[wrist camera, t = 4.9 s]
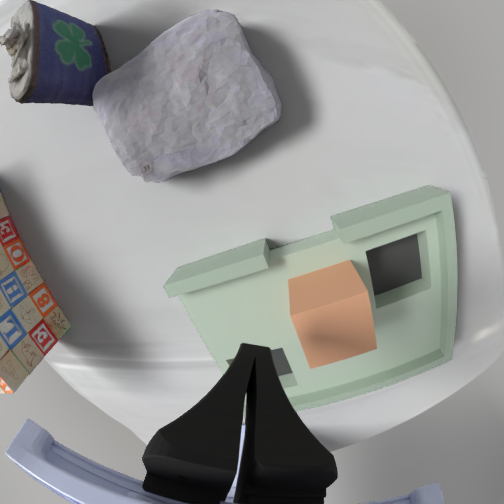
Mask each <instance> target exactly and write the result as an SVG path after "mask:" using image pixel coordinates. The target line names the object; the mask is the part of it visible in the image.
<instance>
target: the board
mask: <svg viewBox="0 0 504 504" xmlns="http://www.w3.org/2000/svg"><path fill="white" fill-rule="evenodd" d="M331 220H332V223H333V226H334V230H331V231H328V232H325V233H322V234H319V235H316V236H313V237H309V238H306V239H303V240H300V241H297V242H294V243H291V244H288V245H285V246H282V247H279V248H276V249H273V250H270V249H269V246H268V244H267V241H266V238H264V239H261V240H258V241H255V242H252V243H249V244H246V245H243V246H240V247H237V248H234V249H231V250H228V251H225V252H222V253H220V254H217V255H214V256H211V257H208V258H205V259H202V260H199V261H196V262H193V263H190V264H187V265H184V266H181V267H178V268H177V269H176V270H175V271H174V273H173V274H172V275H171V277H170V278H169V279H168V280H167V282H166V283H165V284H164V286H163V287H164V289H165V291H166V293H167V295H168V296H169V298H171V297H174V296H178V297H179V299H180V301H181V303H182V305H183V307H184V308H185V310H186V312H187V314H188V316H189V317H190V319H191V321H192V323H193V325H194V326H195V328H196V330H197V332H198V333H199V335H200V337H201V339H202V340H203V342H204V344H205V345H206V347H207V349H208V350H209V352H210V354H211V355H212V357H213V359H214V360H215V362H216V364H217V365H218V367H219V368H220V370H221V372H222V373H223V375H224V374H225V372H226V371H227V369H228V368H229V366H230V365H231V363H232V362H233V360H234V358H235V356H236V354H237V352H238V350H239V347H240V344H242V343H248V344H254V345H259V346H266V347H269V348H270V349H271V353H272V358H273V362H274V365H275V368H276V371H277V374H278V377H279V379H280V382H281V384H282V387H283V389H284V391H285V393H286V395H287V397H288V399H289V401H290V403H291V405H292V406H293V408H294V410H295V411H301V410H306V409H310V408H315V407H319V406H323V405H327V404H331V403H335V402H339V401H342V400H346V399H350V398H353V397H356V396H360V395H363V394H366V393H369V392H372V391H375V390H378V389H381V388H384V387H387V386H390V385H393V384H395V383H398V382H401V381H403V380H406V379H408V378H411V377H413V376H416V375H418V374H421V373H423V372H425V371H428V370H430V369H432V368H434V367H437V366H439V365H441V364H443V363H445V362H447V361H449V360H451V359H452V355H453V347H454V339H455V328H456V315H457V287H458V275H457V247H456V233H455V223H454V214H453V206H452V199H451V193H450V192H447V191H445V190H442V189H439V188H436V187H433V186H430V185H428V186H425V187H422V188H419V189H415V190H412V191H409V192H406V193H403V194H400V195H396V196H393V197H390V198H387V199H384V200H381V201H378V202H375V203H371V204H368V205H365V206H362V207H359V208H356V209H353V210H350V211H347V212H344V213H340V214H337V215H334V216H331ZM347 260H350V261H351V263H352V264H353V266H354V268H355V269H356V271H357V273H358V275H359V276H360V278H361V280H362V282H363V283H364V285H365V287H366V289H367V290H368V294H369V300H370V305H371V311H372V316H373V323H374V329H375V335H376V342H377V349H375V350H372V351H369V352H366V353H363V354H360V355H357V356H354V357H351V358H348V359H345V360H341V361H338V362H334V363H331V364H327V365H324V366H320V367H316V368H313V369H310V367H309V365H308V362H307V359H306V357H305V354H304V351H303V348H302V346H301V343H300V340H299V338H298V335H297V332H296V330H295V327H294V324H293V322H292V319H291V317H290V304H289V287H288V279H291V278H294V277H297V276H300V275H304V274H307V273H310V272H313V271H316V270H319V269H322V268H325V267H329V266H332V265H335V264H338V263H341V262H344V261H347ZM246 394H247V392H246ZM243 416H244V418H245V417H246V396H245V403H244V412H243Z"/></svg>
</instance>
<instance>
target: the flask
mask: <svg viewBox="0 0 504 504" xmlns="http://www.w3.org/2000/svg"><path fill="white" fill-rule="evenodd" d="M0 44H1V46H2V45H5V46H6V49H7V51H8V53H9V55H10V56H11V57H12V65H11V66H12V72H11V77H10V78H9V79H8V82H9V83H10V85H9V87H10V91H11V96H12V98H14V99H15V101H16V102H20V103H21V104H22V103H32V102H34V103H51V104H52V103H63V104H71V105H77V104H78V105H87V106H94V105H93V96H92V95H93V90H94V87H95V85H96V83H97V82H98V81H99V80H100V79H101V78H102V77H104V76H105V75H107V74H109V73H110V72H111V69H110V64H109V60H108V55H107V53H106V51H105V47H104V44H103V41H102V37H101V35H100V33H99V31H98V30H97V29H96V27H94V26H93V25H91V24H89V23H86V22H84V21H82V20H80V19H77V18H75V17H72V16H70V15H68V14H66V13H63V12H60V11H58V10H56V9H53V8H50V7H48V6H46V5H43V4H40V3H37V2H35V1H32V0H28V1H26V2H25V3H23V4H22V5H21V6H20V7H19V9H18V10H17V11H16V13H15V15H14V16H13V17H12V20H11V30H10V29H8V30H7V31H6V33H5V34H4V35H3V36H0Z"/></svg>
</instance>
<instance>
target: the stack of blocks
mask: <svg viewBox="0 0 504 504" xmlns="http://www.w3.org/2000/svg"><path fill="white" fill-rule="evenodd" d="M71 327H72V326H71V324H70V323H69V321H68V320H67V318H66V317H65V316H64V314H63V313H62V311H61V310H60V308H59V306H58V304H57V303H56V301H55V300H54V298H53V296H52V295H51V293H50V291H49V290H48V288H47V286H46V285H45V283H44V282H43V280H42V278H41V276H40V274H39V272H38V271H37V269H36V267H35V265H34V263H33V262H32V260H31V259H30V257H29V255H28V253H27V251H26V249H25V247H24V245H23V243H22V241H21V239H20V238H19V235H18V233H17V231H16V229H15V226H14V224H13V222H12V220H11V217H10V216H9V212H8V209H7V207H6V204H5V202H4V199H3V196H2V194H1V191H0V394H4V393H5V394H6V393H14V392H15V391H16V390H17V389H18V387H19V386H20V385H21V384H22V382H23V381H24V380H25V379H26V377H27V376H28V375H30V374H31V372H32V371H33V370H34V368H36V366H37V365H38V364H39V363H40V362H41V360H42V359H43V358H44V356H45V355H46V354H47V353H48V352H49V351H50V350H51V348H52V347H53V346H54V345H55V344H56V343H57V342H58V340H59V339H61V337H62V336H63V335H64V334H65V333H66V332H67V331H68V330H69V329H70V328H71Z"/></svg>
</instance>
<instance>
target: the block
mask: <svg viewBox="0 0 504 504" xmlns="http://www.w3.org/2000/svg"><path fill="white" fill-rule="evenodd" d="M288 287H289V304H290V317H291V319H292V322H293V324H294V327H295V330H296V332H297V335H298V338H299V340H300V343H301V346H302V348H303V351H304V354H305V357H306V359H307V362H308V365H309V367H310V369H313V368H316V367H320V366H324V365H327V364H331V363H334V362H338V361H341V360H345V359H348V358H351V357H354V356H357V355H360V354H363V353H366V352H369V351H372V350H375V349H377V342H376V335H375V329H374V323H373V316H372V311H371V305H370V300H369V294H368V290H367V289H366V287H365V285H364V283H363V282H362V280H361V278H360V276H359V275H358V273H357V271H356V269H355V268H354V266H353V264H352V263H351V261H350V260H347V261H344V262H341V263H338V264H335V265H332V266H329V267H325V268H322V269H319V270H316V271H313V272H310V273H307V274H304V275H300V276H297V277H294V278H291V279H288Z"/></svg>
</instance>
